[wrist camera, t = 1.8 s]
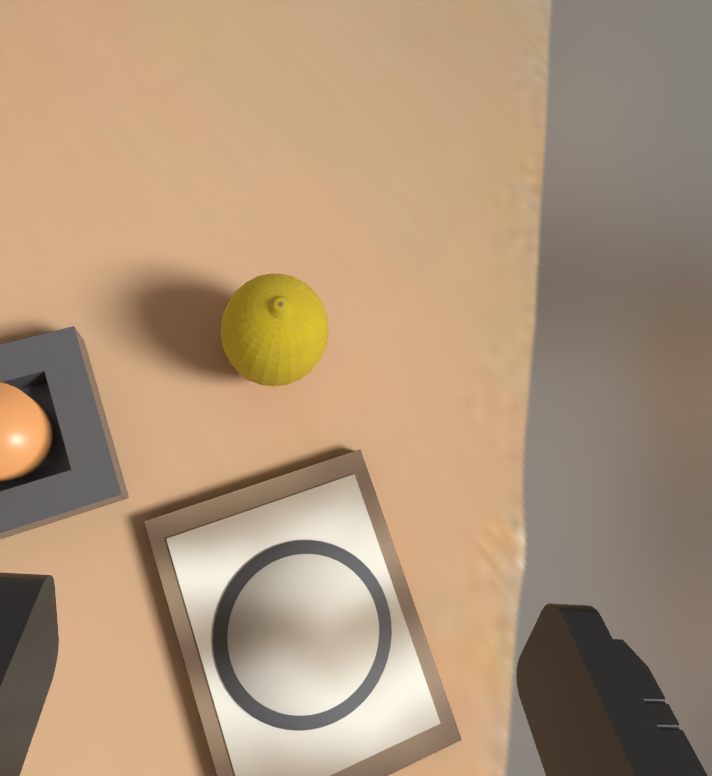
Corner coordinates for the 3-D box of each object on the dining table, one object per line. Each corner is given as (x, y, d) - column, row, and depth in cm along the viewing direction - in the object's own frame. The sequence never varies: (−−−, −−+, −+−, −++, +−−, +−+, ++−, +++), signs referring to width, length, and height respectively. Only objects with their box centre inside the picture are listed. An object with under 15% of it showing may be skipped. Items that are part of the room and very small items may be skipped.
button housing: (-98, 387, 33) (-123, 374, 30) (83, 341, 35) (74, 326, 33) (-58, 557, 31) (-81, 559, 29) (128, 497, 34) (121, 494, 31)
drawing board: (146, 522, 34) (143, 521, 32) (356, 451, 37) (361, 448, 36) (237, 838, 31) (238, 850, 30) (455, 734, 34) (463, 741, 33)
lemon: (297, 297, 38) (316, 236, 31) (329, 382, 37) (357, 341, 30) (207, 323, 37) (203, 266, 29) (238, 412, 36) (243, 378, 28)
